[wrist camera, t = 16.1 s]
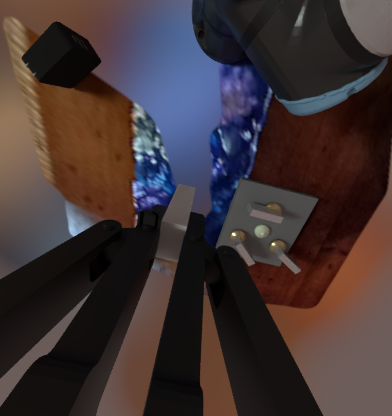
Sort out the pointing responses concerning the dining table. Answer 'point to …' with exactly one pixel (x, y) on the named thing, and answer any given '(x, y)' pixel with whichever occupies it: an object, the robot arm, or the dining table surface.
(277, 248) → the knob
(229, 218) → the base plate
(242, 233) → the knob
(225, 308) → the robot arm
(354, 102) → the dining table surface
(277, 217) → the knob
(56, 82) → the electronic device
